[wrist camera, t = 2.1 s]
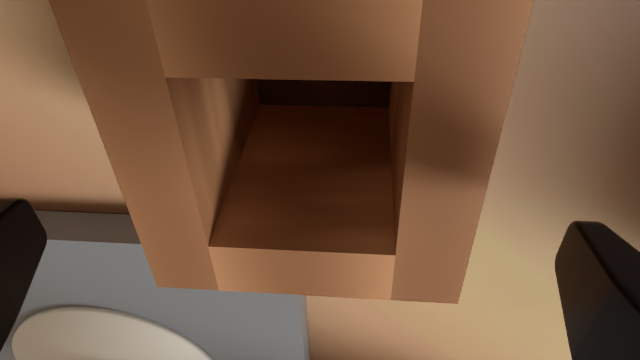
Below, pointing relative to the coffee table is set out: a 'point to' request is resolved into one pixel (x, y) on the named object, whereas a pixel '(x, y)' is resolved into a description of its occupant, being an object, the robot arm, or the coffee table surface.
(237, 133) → the collar
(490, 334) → the coffee table surface
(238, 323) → the post board
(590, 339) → the robot arm
